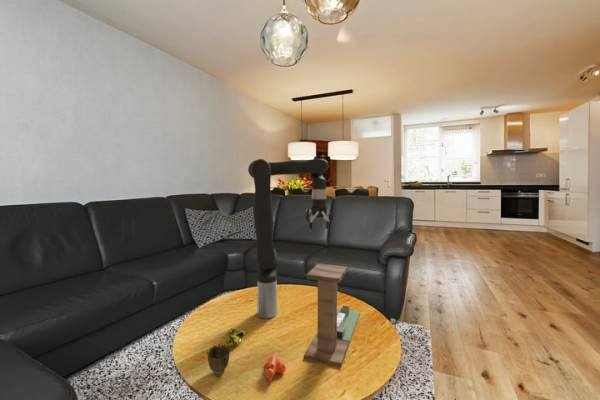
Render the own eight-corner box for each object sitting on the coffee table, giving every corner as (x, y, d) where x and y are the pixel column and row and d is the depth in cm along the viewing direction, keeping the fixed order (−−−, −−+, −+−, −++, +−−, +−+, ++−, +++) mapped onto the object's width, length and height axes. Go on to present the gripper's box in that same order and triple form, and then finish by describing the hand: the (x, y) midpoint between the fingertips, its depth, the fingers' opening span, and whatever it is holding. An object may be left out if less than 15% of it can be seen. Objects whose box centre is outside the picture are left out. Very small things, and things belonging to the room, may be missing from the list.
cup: (224, 382, 94) (223, 358, 93) (203, 378, 95) (202, 356, 95) (233, 367, 101) (233, 345, 101) (214, 364, 103) (214, 343, 102)
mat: (332, 308, 146) (332, 307, 146) (360, 313, 141) (360, 311, 141) (316, 336, 121) (316, 334, 121) (349, 342, 116) (349, 340, 116)
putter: (338, 310, 143) (338, 304, 142) (354, 313, 140) (354, 307, 139) (323, 335, 120) (323, 328, 120) (342, 339, 117) (342, 332, 117)
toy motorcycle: (229, 325, 123) (245, 325, 123) (229, 333, 123) (245, 333, 123) (222, 341, 111) (240, 341, 111) (222, 350, 111) (240, 350, 111)
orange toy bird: (269, 346, 104) (263, 367, 92) (289, 353, 104) (285, 375, 92) (265, 358, 105) (258, 381, 93) (284, 365, 105) (280, 389, 93)
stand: (315, 338, 119) (315, 263, 117) (348, 345, 114) (349, 267, 112) (303, 358, 106) (303, 274, 104) (341, 367, 101) (342, 278, 99)
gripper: (307, 198, 143) (307, 231, 144) (334, 198, 146) (334, 229, 147) (303, 197, 150) (303, 228, 151) (329, 197, 153) (329, 227, 155)
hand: (318, 229), depth 149 cm, fingers open, 8 cm apart
